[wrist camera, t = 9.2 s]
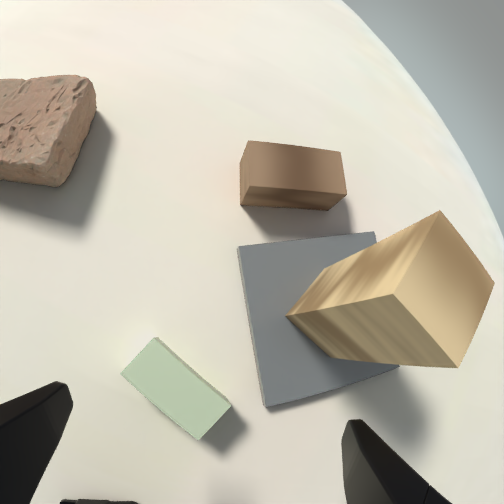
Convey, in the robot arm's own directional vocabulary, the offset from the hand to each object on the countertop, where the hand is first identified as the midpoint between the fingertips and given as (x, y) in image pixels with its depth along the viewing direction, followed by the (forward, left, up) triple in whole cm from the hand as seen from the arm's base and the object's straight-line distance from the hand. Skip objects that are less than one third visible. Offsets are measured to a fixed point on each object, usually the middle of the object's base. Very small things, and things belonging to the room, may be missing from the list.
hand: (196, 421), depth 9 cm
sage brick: (-1, +1, -12) cm, 12 cm away
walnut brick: (+12, -9, -12) cm, 20 cm away
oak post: (+2, -10, -11) cm, 15 cm away
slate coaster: (+2, -10, -12) cm, 16 cm away
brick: (+20, +14, -13) cm, 28 cm away
